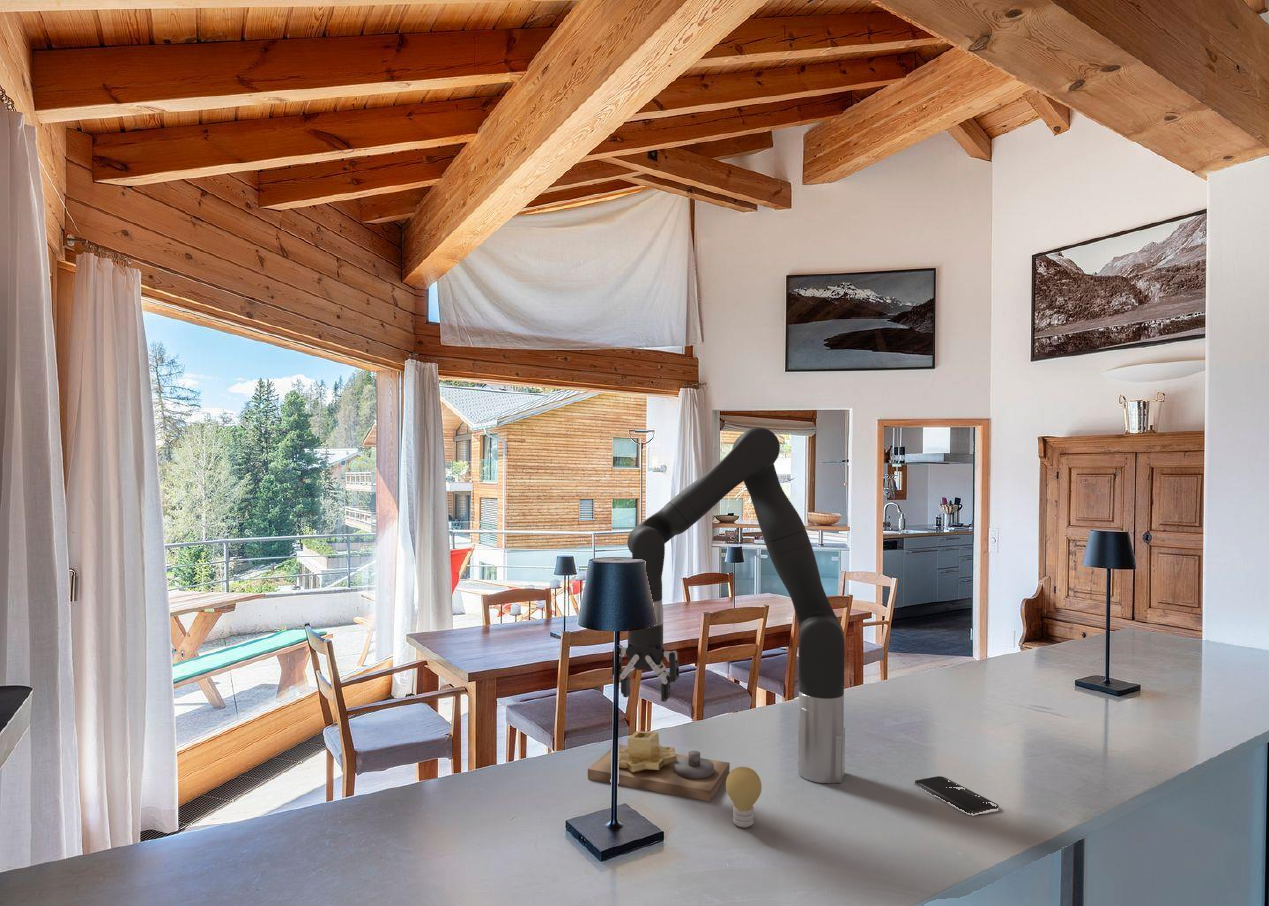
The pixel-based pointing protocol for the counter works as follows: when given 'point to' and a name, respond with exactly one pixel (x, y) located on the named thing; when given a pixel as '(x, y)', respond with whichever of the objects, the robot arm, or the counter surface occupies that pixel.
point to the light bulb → (743, 794)
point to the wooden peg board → (669, 775)
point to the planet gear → (645, 752)
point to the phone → (955, 794)
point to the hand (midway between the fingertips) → (645, 698)
